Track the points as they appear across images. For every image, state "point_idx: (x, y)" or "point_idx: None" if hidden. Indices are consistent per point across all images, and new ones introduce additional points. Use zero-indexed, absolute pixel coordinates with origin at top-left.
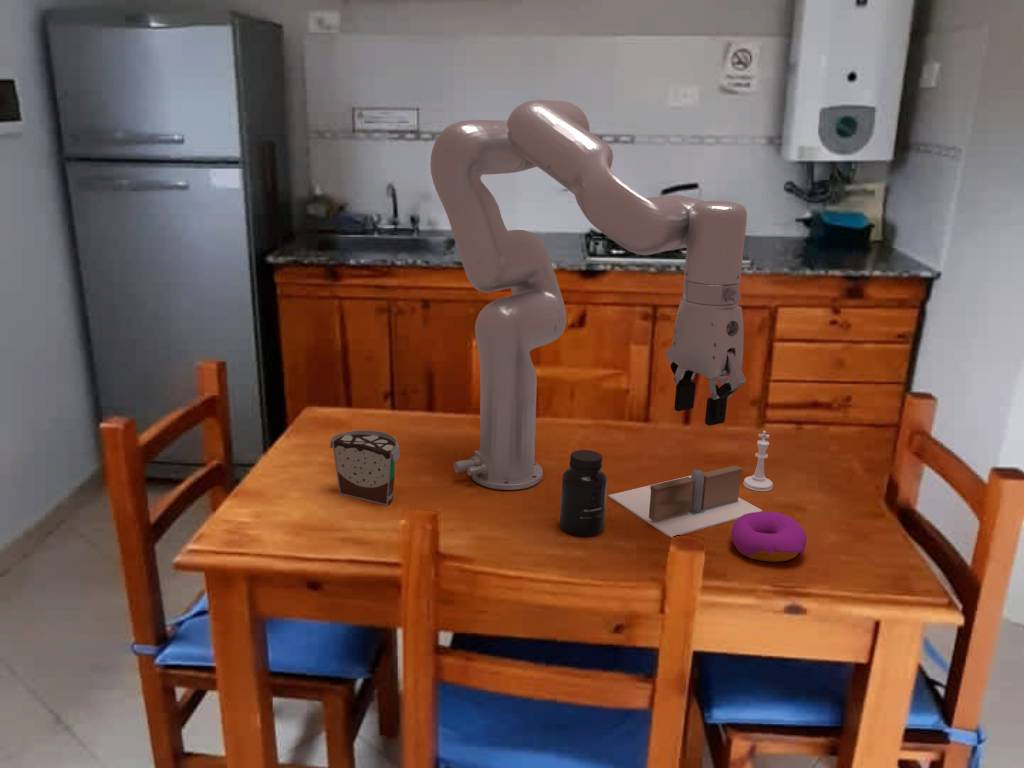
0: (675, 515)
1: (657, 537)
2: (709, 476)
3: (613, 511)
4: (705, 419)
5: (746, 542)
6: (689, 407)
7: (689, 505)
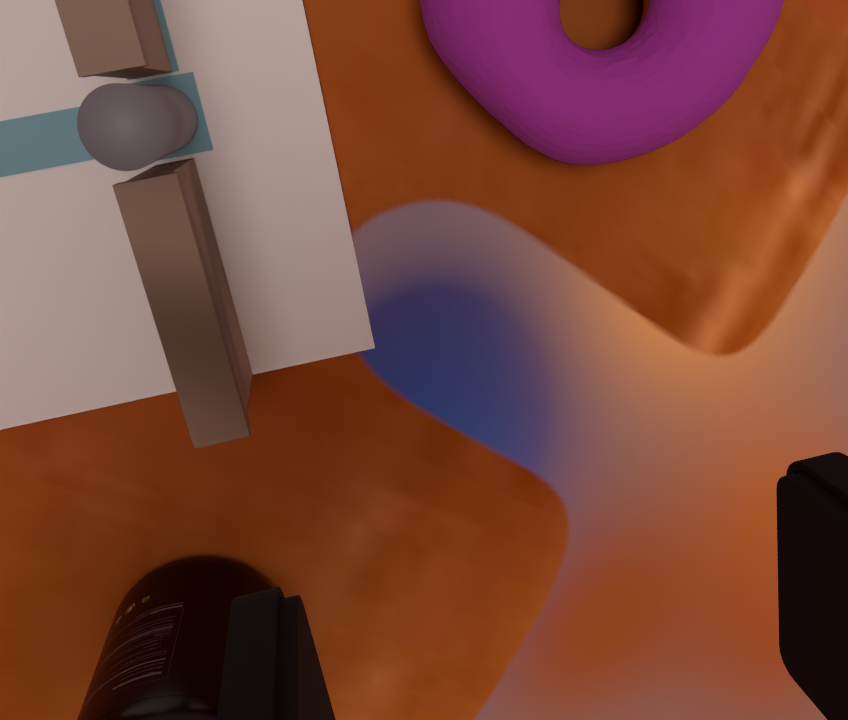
0: None
1: (353, 391)
2: (134, 41)
3: (84, 471)
4: (811, 695)
5: (650, 148)
6: (315, 654)
7: (194, 174)
